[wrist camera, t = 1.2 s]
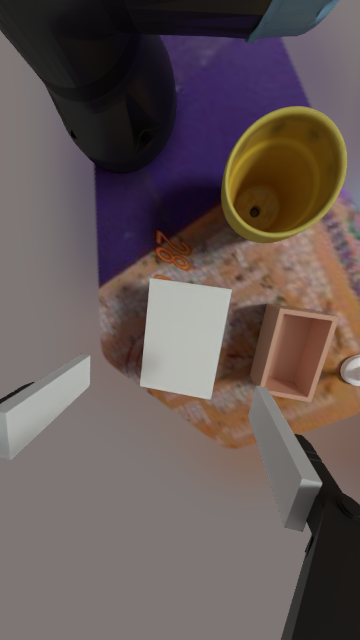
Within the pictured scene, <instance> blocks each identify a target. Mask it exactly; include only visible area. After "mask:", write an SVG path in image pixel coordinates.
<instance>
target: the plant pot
mask: <svg viewBox="0 0 360 640" xmlns="http://www.w3.org/2000/svg"><path fill="white" fill-rule="evenodd" d="M346 168H347V152H346V147H345V143H344V140H343V137H342V135H341V133H340V131H339V129H338V128H337V126H336V125H335V124H334V123H333V121H331V119H330V118H328V117H327V116H326V115H324V114H323V113H321V112H319V111H317V110H315V109H312V108H308V107H301V106H293V107H286V108H281V109H278V110H275V111H273V112H270V113H268V114H267V115H265V116H263V117H261V118H260V119H258V120H257V121H256V122H254V123H253V124H252V125H251V126H250V127H249V128H248V129H247V130H246V131H245V132H244V133H243V134H242V135H241V137H240V138H239V139H238V141H237V142H236V144H235V145H234V147H233V149H232V151H231V153H230V155H229V157H228V160H227V163H226V166H225V170H224V175H223V181H222V188H221V202H222V208H223V212H224V215H225V218H226V220H227V221H228V223H229V225H230V226H231V227H232V228H233V230H234V231H235V232H236V233H238V234H239V235H240V236H242V237H243V238H245V239H247V240H250V241H253V242H258V243H273V242H278V241H281V240H284V239H287V238H290V237H292V236H294V235H297V234H299V233H301V232H303V231H305V230H306V229H308V228H309V227H311V226H312V225H314V224H315V223H316V222H318V221H319V220H320V219H321V218H322V217H323V216H324V215H325V214H326V213H327V212H328V210H329V209H330V208H331V206H332V205H333V204H334V202H335V200H336V199H337V197H338V195H339V193H340V190H341V188H342V186H343V183H344V179H345V175H346V170H347V169H346ZM253 208H257V209H258V210H259V215H258V216H257V217H252V216H251V215H250V210H251V209H253Z"/></svg>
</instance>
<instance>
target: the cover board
mask: <svg viewBox="0 0 360 640" xmlns="http://www.w3.org/2000/svg"><path fill="white" fill-rule="evenodd" d="M231 292H232V289H227V288H219V287H212V286H205V285H198V284H191V283H184V282H176V281H169V280H162V279H155V278H150V287H149V297H148V308H147V318H146V329H145V339H144V350H143V360H142V371H141V381H140V386H143V387H148V388H153V389H158V390H163V391H169V392H174V393H179V394H184V395H189V396H195V397H200V398H205V399H210V400H211V395H212V390H213V385H214V380H215V375H216V370H217V364H218V359H219V354H220V349H221V344H222V339H223V334H224V328H225V323H226V318H227V313H228V308H229V303H230V297H231Z"/></svg>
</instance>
